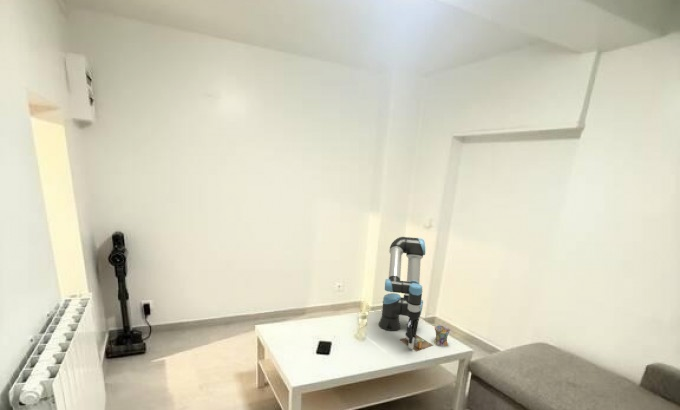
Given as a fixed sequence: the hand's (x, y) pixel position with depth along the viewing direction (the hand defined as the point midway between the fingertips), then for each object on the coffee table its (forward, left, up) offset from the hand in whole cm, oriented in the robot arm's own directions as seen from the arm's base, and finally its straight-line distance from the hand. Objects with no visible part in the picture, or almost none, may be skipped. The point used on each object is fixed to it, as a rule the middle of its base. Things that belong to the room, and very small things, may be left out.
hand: (410, 347), depth 191 cm
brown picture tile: (-5, +9, -3) cm, 11 cm away
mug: (+2, +24, -3) cm, 24 cm away
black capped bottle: (-4, +6, -1) cm, 7 cm away
